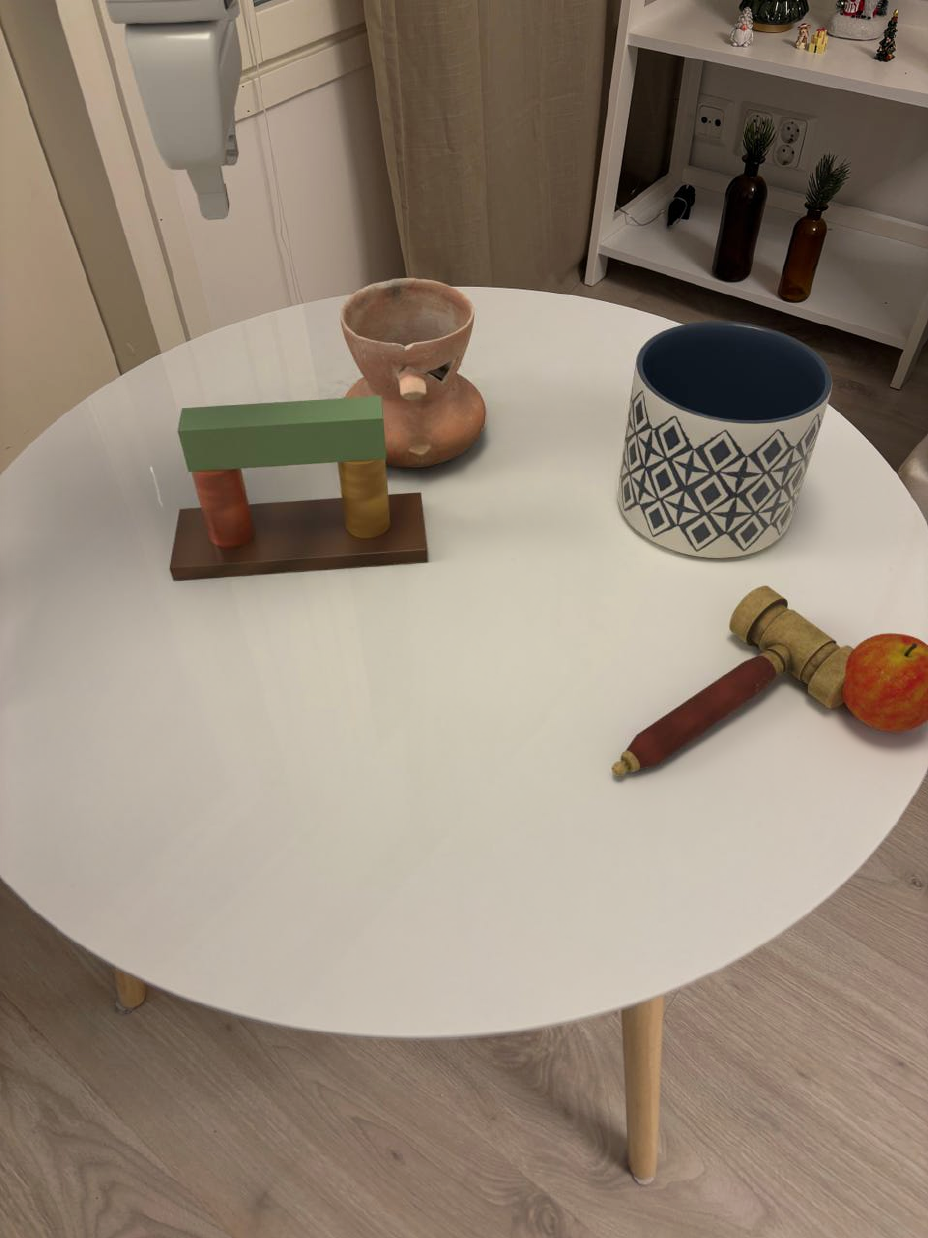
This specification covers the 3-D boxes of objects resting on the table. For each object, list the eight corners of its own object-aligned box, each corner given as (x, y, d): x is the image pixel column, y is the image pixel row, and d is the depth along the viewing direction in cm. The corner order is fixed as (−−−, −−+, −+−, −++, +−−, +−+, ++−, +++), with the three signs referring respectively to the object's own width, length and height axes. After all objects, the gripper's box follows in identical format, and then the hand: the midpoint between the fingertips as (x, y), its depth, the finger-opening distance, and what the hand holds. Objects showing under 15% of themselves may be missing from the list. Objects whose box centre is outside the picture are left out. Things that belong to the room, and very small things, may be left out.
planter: (805, 478, 90) (848, 342, 79) (769, 583, 80) (813, 443, 69) (645, 439, 94) (666, 305, 84) (593, 533, 84) (609, 394, 74)
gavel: (667, 805, 61) (568, 707, 66) (660, 840, 64) (567, 744, 70) (879, 651, 68) (773, 575, 74) (863, 689, 72) (763, 614, 77)
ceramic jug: (493, 487, 89) (496, 353, 79) (341, 495, 89) (324, 361, 78) (477, 384, 102) (477, 257, 92) (343, 391, 101) (329, 263, 91)
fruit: (821, 674, 73) (851, 601, 67) (913, 681, 72) (951, 607, 66) (837, 747, 68) (871, 675, 62) (936, 754, 67) (980, 682, 62)
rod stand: (173, 581, 81) (145, 493, 74) (183, 521, 86) (158, 434, 79) (427, 562, 82) (423, 474, 75) (421, 504, 88) (417, 418, 81)
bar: (188, 472, 76) (177, 430, 73) (192, 449, 78) (181, 407, 75) (386, 459, 77) (383, 417, 74) (384, 436, 79) (381, 395, 76)
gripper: (147, -81, 63) (191, 136, 73) (96, -4, 49) (159, 252, 59) (241, -84, 64) (272, 133, 74) (217, -9, 50) (260, 247, 60)
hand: (222, 187), depth 66 cm, fingers open, 8 cm apart
